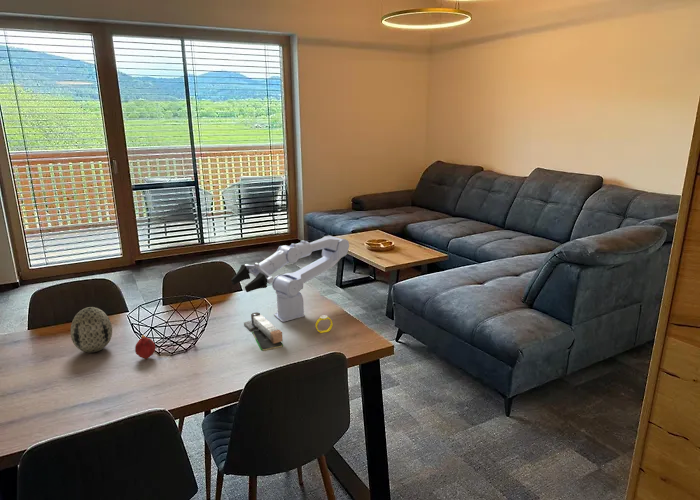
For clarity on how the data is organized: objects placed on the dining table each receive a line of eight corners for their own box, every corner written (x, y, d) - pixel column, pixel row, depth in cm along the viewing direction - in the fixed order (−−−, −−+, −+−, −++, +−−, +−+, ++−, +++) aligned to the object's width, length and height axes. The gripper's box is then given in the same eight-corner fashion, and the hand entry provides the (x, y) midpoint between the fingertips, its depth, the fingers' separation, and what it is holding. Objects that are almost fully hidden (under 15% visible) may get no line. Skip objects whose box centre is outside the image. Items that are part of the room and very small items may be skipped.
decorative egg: (96, 339, 160) (89, 299, 156) (123, 345, 157) (116, 303, 152) (65, 356, 150) (57, 312, 145) (94, 362, 146) (86, 317, 142)
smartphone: (261, 349, 152) (251, 330, 165) (261, 352, 152) (251, 333, 166) (283, 345, 155) (272, 326, 168) (284, 347, 155) (272, 329, 168)
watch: (317, 335, 163) (316, 320, 161) (315, 332, 166) (313, 317, 164) (334, 331, 165) (332, 316, 164) (331, 328, 168) (329, 313, 166)
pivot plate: (262, 320, 175) (261, 318, 174) (268, 326, 170) (268, 323, 170) (244, 325, 171) (243, 322, 171) (250, 331, 166) (250, 328, 166)
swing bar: (258, 319, 172) (257, 311, 171) (282, 341, 156) (282, 332, 155) (250, 321, 170) (249, 313, 170) (273, 343, 154) (273, 334, 153)
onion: (160, 355, 150) (157, 332, 147) (147, 364, 144) (144, 341, 142) (145, 352, 151) (142, 330, 149) (132, 361, 146) (129, 338, 144)
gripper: (254, 250, 169) (223, 269, 161) (280, 263, 160) (249, 283, 152) (258, 266, 173) (228, 285, 165) (284, 279, 164) (254, 300, 156)
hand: (238, 285), depth 159 cm, fingers open, 7 cm apart
